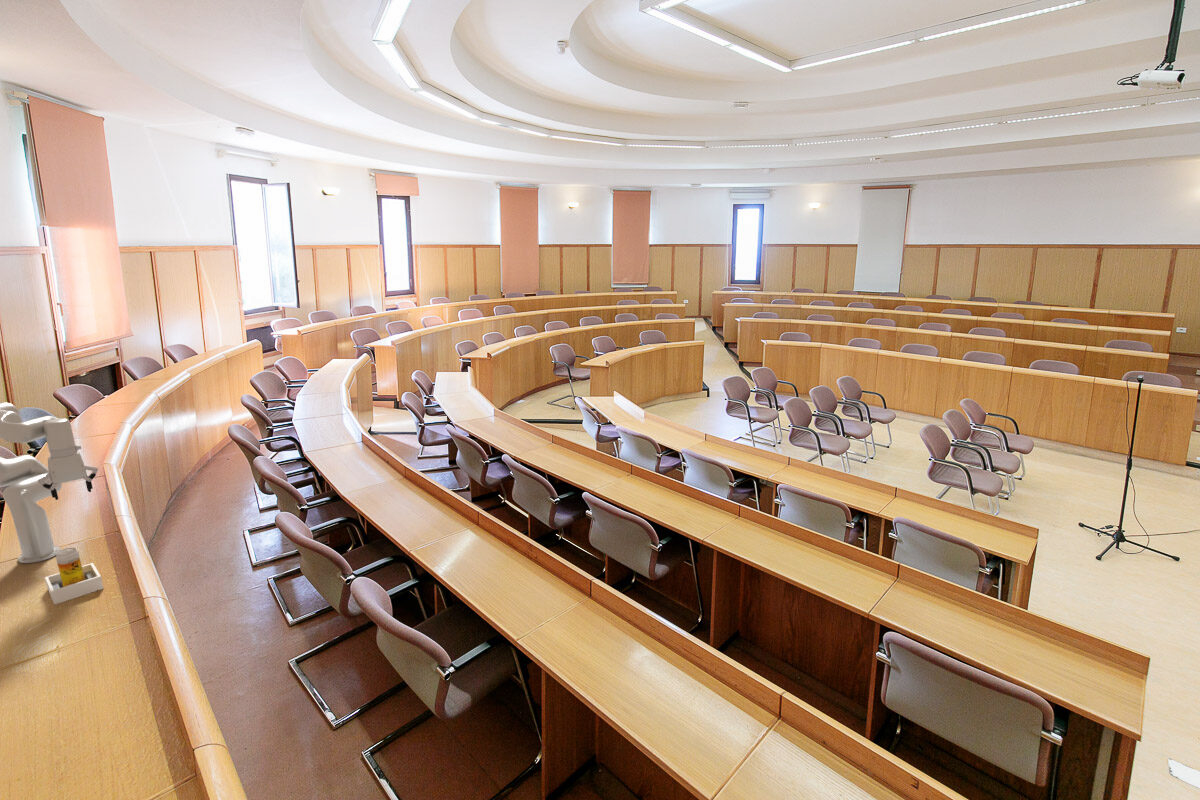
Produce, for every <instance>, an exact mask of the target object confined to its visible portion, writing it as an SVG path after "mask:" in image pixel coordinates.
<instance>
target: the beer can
mask: <svg viewBox="0 0 1200 800" xmlns="http://www.w3.org/2000/svg"><path fill="white" fill-rule="evenodd" d="M55 558H56V560H55V561H56V563H57V568H58V571H59V572H58V573H60V576H61V580H62V584H63V587H65V586H68V585H72V584H75V583H78V582H81V581H84V580H85V578H84V574H83V570H82V566H83V565H82V563H81V562H82V561H81V558H80V553H79V551H78V550H77V548H75V547H68V548H63V549H61V551H59V552H57V555H55Z"/></svg>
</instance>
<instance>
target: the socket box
mask: <svg viewBox="0 0 1200 800" xmlns="http://www.w3.org/2000/svg"><path fill="white" fill-rule="evenodd" d="M82 570H83V574H84V578H85V580H84V581H81V582H78V583H75V584H72V585H68V586H65V587H63V584H62V580H61V576H60V572H57V573H55V574H52V575H47V576H45V577H44V579H45V583H46V587H47V590H48V593H49V596H50V598H51V600H52V602H53V604H54V605H57V604H61V603H64V602H66V601H70V600H73V599H77V598H78V597H82V596H86V595H89V594H91V592H92V593H94V592H98V591H100V590H104V584H103V580H102V575H101V574H100V572H99V571H98V569H97V567H96V566H95V564H94V563H93V562H90V563H88V564H85V565H82ZM97 590H98V591H97Z"/></svg>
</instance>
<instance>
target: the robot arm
mask: <svg viewBox="0 0 1200 800" xmlns="http://www.w3.org/2000/svg"><path fill="white" fill-rule="evenodd" d="M0 439H3V441H6V442H7V443H8V442H9V443H16V444H27V443H32V442H34V441H38V440H41V439H45V440H46V445H47V448H48V452H49V457H48V458H47V466H46V465H45V464H44V463H43V462H41V461H40V460H39V459H37V458H36V457H35V456H32V455H29V454H22V455H17V456H14V457H11V458H5V457H3V456H1V455H0V488H2V487H3V488H4V487H5V488H4V489H3V492H2V497H3V500H4V501H5V503H6V505H7V507H8V509H9V511H10V515H11V517H12V520H13V524H14V527H15V532H16V535H17V539H18V543H19V547H20V550H21V554H19V556H18V557H17V561H18V562H19V563H20V564H33V563H39V562H43V561H47V560H48V559H52V558H53V557H56V555H57V552H59V551H61V550H62V549H61V547H60V546H59V545H55V543H54V539H53V535H52V531H51V527H50V522H49V519H48V515H47V512H46V510H45V508H43V507H42V506H41V505H39V504H37V502H40V501H41V500H44V499H46V498H49V497H51V498H53V499H55V501H58V500H59V495H58V493H59V492H60V491H61V490H62V485H63V484H65V483H69V482H75V481H78V480H85V486H86V490H87V492H89V493H90V492H92V489H94V488H93V484H92V481H93V480H94V478H95V477H96V475H97V474H98V473H97V472H98V471H99V469H98V467H96V466H90V465H85V462H84V459H83V458H82V454H81V453H80V451H79V450H82V446H81V445H77V444H76V441H75V437H74V433H73V429H72V424H71V421H70V420H69V419H68V418H61V417H60V418H58V417H56V416H52V415H44V416H41V417H36V418H33V419H28V420H25V421H23V420H22V417H21V415H20V411H19V409H18V408H17V407H16V405H14V404H12V403H9V402H0ZM87 471H91V473H90V474H89V475H87V474H88V473H87Z"/></svg>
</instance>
